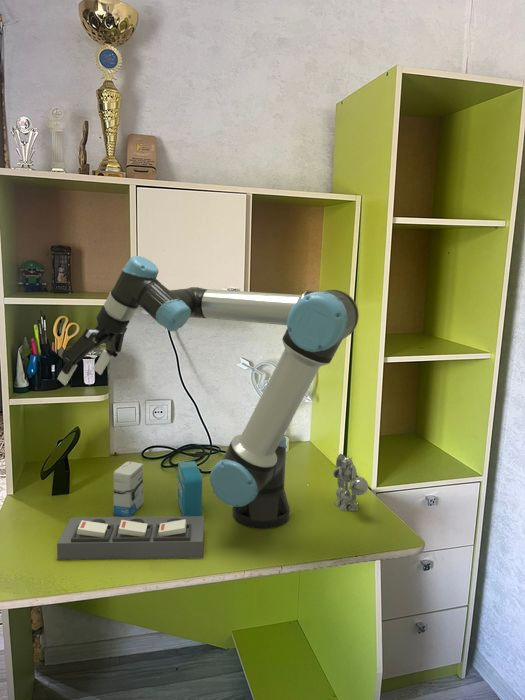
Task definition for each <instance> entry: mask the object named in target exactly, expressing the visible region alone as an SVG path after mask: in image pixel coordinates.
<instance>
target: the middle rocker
mask: <svg viewBox="0 0 525 700" xmlns="http://www.w3.org/2000/svg"><path fill="white" fill-rule="evenodd" d="M146 529H147V524H146V523H139V522H133V521H126V520H121V523H120V526H119V530H118V533H119V534H126V535H132V536H139V537H145V533H146Z"/></svg>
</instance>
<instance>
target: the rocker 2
mask: <svg viewBox="0 0 525 700" xmlns="http://www.w3.org/2000/svg"><path fill="white" fill-rule="evenodd" d="M186 525H187V524H186V519H184V520H178V521H173V522H167V523H161V524H160V527H159V532H158V533H159V537H163V536H169V535H175V534H181V533H186Z"/></svg>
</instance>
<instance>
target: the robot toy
mask: <svg viewBox="0 0 525 700" xmlns="http://www.w3.org/2000/svg"><path fill="white" fill-rule="evenodd" d="M335 467H336V468H335V469H334V470H333V476H334V478H337V481H336V482H337V487H338V488H337V489H336V491H335V495H336V497H337V498H338V499H337V500H336V501H335V502H334V505H335V506H336V507H338V509H339V510H340V511H341V512H344V511H348V512H349V511H353V512H355V511H356V512H357V511H359V508H361V507H360V506H358V505H359V503H356V502H357V500H356V498H357V497H359V496H362V495H364V494H367V492H368V490H369V483H368V481H367V480H366V479H365V478H364V477H362V476H357V475H358V474H357V467H356V466H355V463H354V462H353V456H351V457H350V455H349V454H348V456H347V457H346V455H345V454H342V453H339V454H338V455H337V458H336V462H335ZM350 490H351V492H350ZM347 506H348V507H347Z"/></svg>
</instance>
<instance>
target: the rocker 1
mask: <svg viewBox="0 0 525 700" xmlns="http://www.w3.org/2000/svg"><path fill="white" fill-rule="evenodd" d="M107 527H108V524H104V523H97V522H91V521H84V520H82V521H81V523H80V525H79V527H78V529H77V534H81V535H88V536H95V537H102V538H103V537H104V536H105V534H106V531H107Z"/></svg>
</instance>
